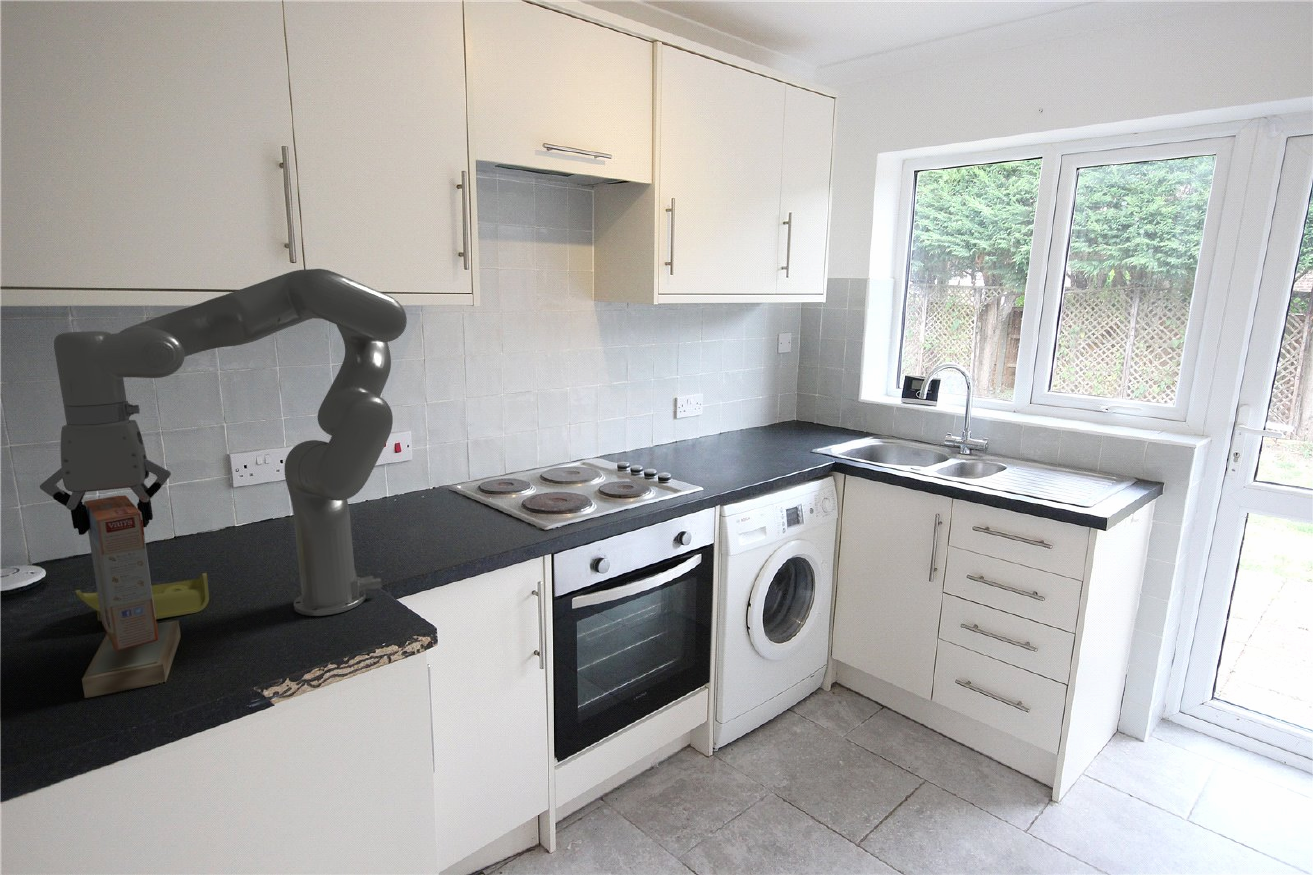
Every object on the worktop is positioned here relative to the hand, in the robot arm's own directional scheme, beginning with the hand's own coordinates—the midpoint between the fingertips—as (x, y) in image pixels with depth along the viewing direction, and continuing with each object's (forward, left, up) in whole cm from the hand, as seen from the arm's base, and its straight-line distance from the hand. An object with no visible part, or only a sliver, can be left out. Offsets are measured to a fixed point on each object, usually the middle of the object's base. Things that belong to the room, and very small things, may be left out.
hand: (115, 527), depth 112 cm
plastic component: (+2, -24, -23) cm, 33 cm away
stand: (0, 0, -23) cm, 23 cm away
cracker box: (0, 0, -17) cm, 17 cm away
